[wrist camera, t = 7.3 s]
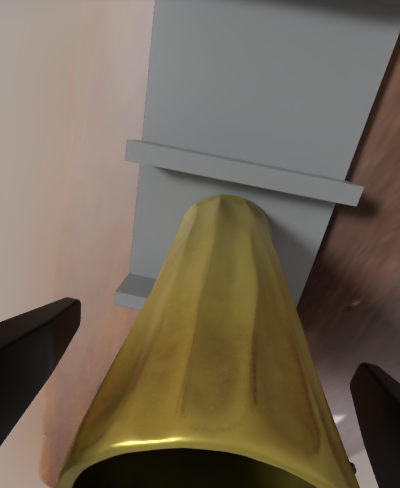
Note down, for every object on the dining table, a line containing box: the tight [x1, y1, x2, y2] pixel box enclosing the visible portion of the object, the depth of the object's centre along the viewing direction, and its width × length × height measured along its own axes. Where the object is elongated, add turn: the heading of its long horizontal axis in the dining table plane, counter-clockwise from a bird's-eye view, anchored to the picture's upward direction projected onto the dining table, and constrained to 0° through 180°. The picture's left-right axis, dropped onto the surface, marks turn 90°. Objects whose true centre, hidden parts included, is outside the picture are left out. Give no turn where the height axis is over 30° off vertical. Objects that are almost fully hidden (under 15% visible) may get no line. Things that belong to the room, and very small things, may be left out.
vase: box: [54, 194, 360, 488], centre depth 11 cm, size 6×6×14 cm
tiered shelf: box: [114, 0, 400, 335], centre depth 15 cm, size 19×12×3 cm, turn 170°
